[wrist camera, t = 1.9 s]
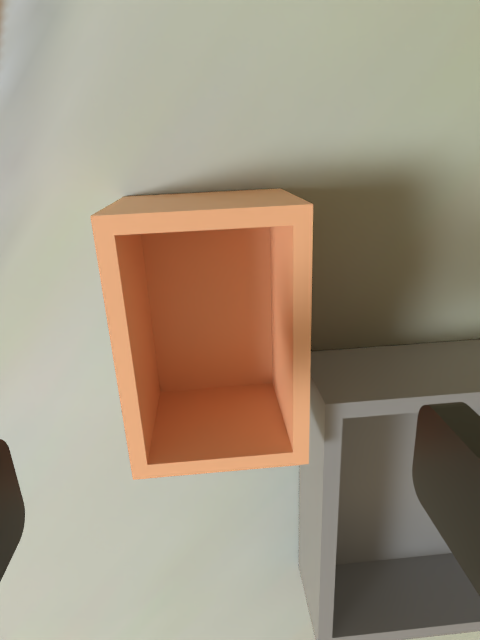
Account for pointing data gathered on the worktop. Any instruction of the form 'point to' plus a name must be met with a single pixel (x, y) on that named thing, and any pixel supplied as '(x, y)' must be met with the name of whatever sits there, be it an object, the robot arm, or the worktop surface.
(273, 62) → the worktop surface
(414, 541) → the large crate
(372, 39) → the worktop surface
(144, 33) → the worktop surface
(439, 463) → the robot arm
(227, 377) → the small crate
